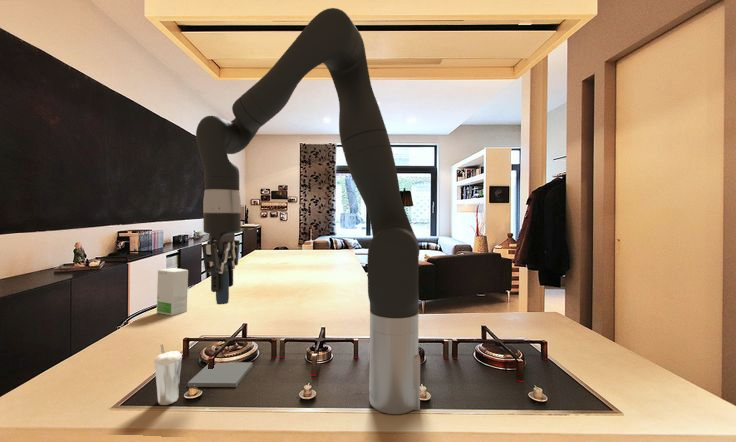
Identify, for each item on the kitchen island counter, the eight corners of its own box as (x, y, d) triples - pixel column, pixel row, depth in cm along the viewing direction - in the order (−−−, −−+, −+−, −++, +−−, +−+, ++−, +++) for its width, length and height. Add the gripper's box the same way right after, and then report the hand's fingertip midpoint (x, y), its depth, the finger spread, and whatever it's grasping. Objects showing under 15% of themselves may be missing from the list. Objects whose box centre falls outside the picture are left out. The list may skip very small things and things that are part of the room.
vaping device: (229, 298, 78) (228, 245, 78) (228, 304, 74) (228, 248, 73) (216, 299, 78) (216, 246, 77) (215, 305, 73) (214, 248, 72)
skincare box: (156, 313, 124) (155, 270, 123) (172, 308, 130) (172, 267, 130) (172, 316, 120) (172, 271, 120) (188, 311, 126) (188, 268, 126)
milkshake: (174, 390, 69) (174, 341, 69) (186, 399, 66) (186, 347, 66) (148, 400, 66) (148, 347, 66) (159, 410, 62) (159, 355, 62)
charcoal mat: (252, 365, 81) (252, 362, 81) (236, 387, 71) (236, 383, 71) (210, 365, 81) (210, 362, 81) (187, 386, 71) (187, 382, 71)
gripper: (225, 210, 68) (226, 296, 68) (250, 211, 83) (251, 282, 83) (188, 210, 68) (188, 296, 68) (219, 211, 83) (219, 282, 83)
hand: (222, 288), depth 76 cm, fingers closed on vaping device, 5 cm apart
